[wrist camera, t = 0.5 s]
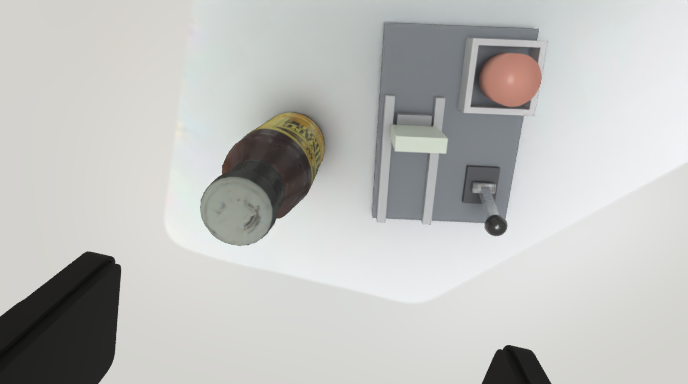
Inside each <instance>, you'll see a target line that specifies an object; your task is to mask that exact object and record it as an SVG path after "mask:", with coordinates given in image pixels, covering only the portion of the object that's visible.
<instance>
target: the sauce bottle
mask: <svg viewBox="0 0 688 384" xmlns="http://www.w3.org/2000/svg"><path fill="white" fill-rule="evenodd" d="M324 151H325V144H324V138H323V136H322V132H321V130H320V129H319V127H318V126H317V125H316V124H315V122H313V121H312V120H311V119H310V118H308V117H307V116H306V115H303V114H298V113H283V114H280V115H277V116H275V117H273V118H271V119H270V120H268V121H267V122H266V123H264V124H263V125H261V126H260V127H258V128H257V129H255V130H253V131H252V132H250V133H249V134H247V135H246V136H245V137H244V138H243V139H242V140H241V141H239V142H238V143H236V144H235V145H234V146H233V148H232V149H231V150H230V151H229V153H228V155H227V156H226V159H225V161H224V164H223V165H222V175H221V176H219V177H218V178H217V179H215V180H214V181H213V182H212V183H211V184H210V185H209V186H208V188H207V189H206V190H205V192H204V194H203V196H202V199H201V206H200V210H201V217H202V220H203V222H204V224H205V226H206V227H207V228H208V230H209V231H210V232H211V234H212V235H213V236H215V237H216V238H217V239H219V240H221V241H222V242H224V243H229V244H232V245H238V246H242V245H249V244H252V243H255V242H257V241H258V240H260V239H262V238H263V237H264V236H265V235H266V234H267V233H268V232H269V230H270V229H271V228H272V226H273V225H274V223H275V221H276V218H282V217H284V216H285V215H286V214H287V213H288V212H289V211H290V210H291V209H292V208H293V207H295V206H296V205H297V204H298V203H299V202H300V201H301V200H302V199H303V198H304V197H305V196H306V195H307V193H308V191H309V189H310V188H311V185H312V183H313V181H314V179H315V176H316V174H317V171H318V169H319V166H320V164H321V162H322V160H323V156H324Z"/></svg>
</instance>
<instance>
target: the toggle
mask: <svg viewBox="0 0 688 384" xmlns="http://www.w3.org/2000/svg"><path fill="white" fill-rule="evenodd" d="M495 191H496V185H495V183H480V182H472V184H471V192H472V193H479V196H480V199H481V202H482V205H483V208H484V212H485V215H486V218H487V219H486V221H485V229H486V231H487V232H488V233H489V234H490V235H493V236H500V235H502V234H504V233H505V231H506V230H507V222H506V220H505V218H503V217H502V216H500V215H499V213H498V210H497V207H496V204H495V201H494V199H493V196H492V194H495Z"/></svg>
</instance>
